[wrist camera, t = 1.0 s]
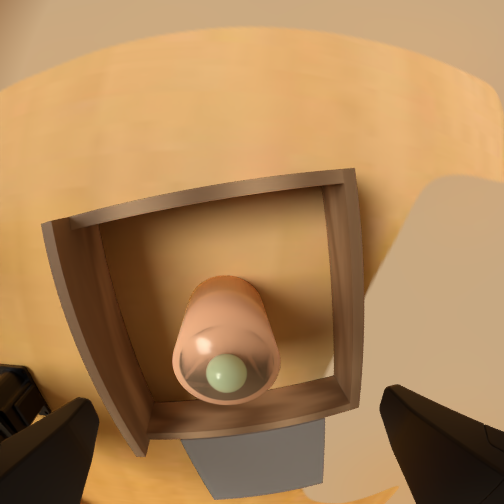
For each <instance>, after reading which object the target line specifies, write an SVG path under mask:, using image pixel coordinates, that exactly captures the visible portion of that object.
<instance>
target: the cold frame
mask: <svg viewBox="0 0 504 504" xmlns="http://www.w3.org/2000/svg"><path fill="white" fill-rule="evenodd" d="M321 185H322V192H323V200H324V208H325V217H326V227H327V237H328V247H329V259H330V273H331V288H332V307H333V334H334V376H330V377H326V378H322V379H318V380H314V381H310V382H305V383H301V384H296V385H292V386H287V387H282V388H277V389H272V390H267V391H266V392H265V393H263V394H262V395H260V396H259V397H257V398H255V399H253V400H251V401H248V402H245V403H241V404H235V405H219V404H213V403H209V402H206V401H203V400H190V401H176V402H157V403H155V402H154V400H153V398H152V395H151V393H150V391H149V388H148V386H147V384H146V381H145V379H144V377H143V374H142V372H141V369H140V367H139V364H138V361H137V359H136V356H135V353H134V351H133V348H132V345H131V342H130V340H129V337H128V334H127V331H126V328H125V325H124V322H123V319H122V316H121V312H120V309H119V306H118V303H117V299H116V296H115V292H114V289H113V285H112V281H111V278H110V274H109V270H108V266H107V262H106V257H105V253H104V249H103V244H102V239H101V235H100V230H99V223H103V222H108V221H112V220H117V219H121V218H126V217H130V216H135V215H140V214H144V213H149V212H154V211H159V210H164V209H169V208H175V207H180V206H185V205H191V204H196V203H202V202H208V201H214V200H220V199H226V198H232V197H238V196H245V195H251V194H258V193H265V192H272V191H280V190H287V189H295V188H303V187H312V186H321ZM41 227H42V232H43V237H44V242H45V247H46V251H47V256H48V260H49V264H50V268H51V272H52V275H53V279H54V282H55V286H56V289H57V293H58V296H59V299H60V302H61V305H62V308H63V311H64V314H65V317H66V320H67V323H68V325H69V328H70V331H71V333H72V336H73V338H74V341H75V343H76V346H77V348H78V351H79V353H80V355H81V358H82V360H83V362H84V365H85V367H86V369H87V371H88V373H89V375H90V377H91V380H92V382H93V384H94V386H95V388H96V390H97V392H98V394H99V395H100V397H101V399H102V401H103V403H104V405H105V407H106V408H107V410H108V412H109V414H110V416H111V417H112V419H113V421H114V422H115V424H116V426H117V427H118V429H119V431H120V432H121V434H122V436H123V437H124V439H125V440H126V442H127V443H128V445H129V446H130V448H131V449H132V451H133V452H134V454H135V455H136V457H146V453H147V449H148V445H149V441H150V439H193V438H207V437H219V436H228V435H237V434H244V433H251V432H258V431H264V430H270V429H275V428H281V427H286V426H290V425H295V424H300V423H304V422H308V421H312V420H316V419H320V418H324V417H328V416H331V415H335V414H338V413H342V412H345V411H349V410H352V409H355V408H358V407H359V401H360V390H361V377H362V363H363V342H364V270H363V248H362V233H361V220H360V209H359V199H358V190H357V181H356V174H355V168H349V169H337V170H325V171H315V172H305V173H296V174H288V175H279V176H271V177H264V178H257V179H250V180H243V181H236V182H230V183H223V184H217V185H211V186H205V187H200V188H194V189H189V190H183V191H178V192H173V193H168V194H163V195H158V196H153V197H149V198H144V199H139V200H135V201H131V202H126V203H122V204H118V205H113V206H109V207H105V208H101V209H97V210H93V211H90V212H86V213H82V214H78V215H75V216H71V217H67V218H62V219H57V220H53V221H49V222H46V223H43V224H41Z"/></svg>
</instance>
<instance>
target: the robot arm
mask: <svg viewBox="0 0 504 504" xmlns="http://www.w3.org/2000/svg"><path fill="white" fill-rule="evenodd" d="M38 414H39V415H45V416H46V417H44V418H42V419H41V420H39V421H37V422H36V423H34V424H32V423H33V421H34V420H35V418H36V417H37V415H38ZM380 414H381V417H382V419H383V422H384V426H385V429H386V432H387V435H388V438H389V441H390V444H391V447H392V450H393V452H394V455H395V457H396V459H397V461H398V463H399V466H400V468H401V470H402V472H403V475H404V476H405V479H406V481H407V484H408V486H409V488H410V490H411V493H412V495H413V498H414V500H415V502H416V504H504V432H503V431H501V430H498V429H495V428H493V427H490V426H488V425H484V424H483V423H481V422H478V421H476V420H474V419H472V418H469V417H467V416H465V415H462V414H460V413H458V412H456V411H453V410H451V409H449V408H447V407H445V406H442V405H440V404H438V403H436V402H434V401H432V400H430V399H428V398H425V397H423V396H421V395H419V394H417V393H415V392H413V391H411V390H409V389H407V388H405V387H403V386H401V385H398V384H397V385H392V386H388V387H386V388H385V390H384V393H383V396H382V400H381V403H380ZM31 424H32V425H31ZM98 426H99V418H98V415H97V413H96V411H95V409H94V407H93V404H92V402H91V401H90V400H89V399H86V398H80V397H78V398H76V399H74V400H73V401H71V402H69V403H68V404H66V405H64V406H63V407H61V408H59V409H58V410H56V411H54V412H53V413H51V411H50V409H49V408H48V406H47V404H46V403H45V401H44V399H43V398H42V396H41V394H40V392H39V391H38V389H37V387H36V385H35V383H34V381H33V380H32V378H31V376H30V374H29V372H28V370H27V369H26V367H24V366H15V365H4V364H0V504H80V502H81V498H82V494H83V490H84V487H85V483H86V479H87V476H88V472H89V469H90V465H91V462H92V457H93V452H94V447H95V441H96V436H97V431H98Z"/></svg>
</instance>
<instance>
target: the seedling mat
mask: <svg viewBox="0 0 504 504" xmlns="http://www.w3.org/2000/svg"><path fill="white" fill-rule="evenodd" d="M324 439H325V418H320V419H316V420H312V421H308V422H304V423H300V424H295V425H290V426H286V427H281V428H275V429H270V430H264V431H258V432H251V433H244V434H237V435H228V436H219V437H207V438H193V439H181V442H182V444H183V446H184V448H185V450H186V452H187V454H188V456H189V457H190V459H191V461H192V463H193V465H194V467H195V468H196V470H197V472H198V474H199V475H200V477H201V479H202V480H203V482H204V484H205V485H206V487H207V489H208V490H209V492H210V494H211V495H212V497H213V498H214V500H219V499H233V498H244V497H252V496H260V495H267V494H273V493H279V492H285V491H290V490H295V489H300V488H304V487H308V486H312V485H317V484H320V483H323V468H324V443H325V440H324Z"/></svg>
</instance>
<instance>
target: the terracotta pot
mask: <svg viewBox="0 0 504 504" xmlns="http://www.w3.org/2000/svg"><path fill="white" fill-rule="evenodd" d="M172 363H173V369H174V373H175V375H176V377H177V379H178V381H179V382H180V384H181V385H182V386H183V387H184V388H185V389H186V390H187V391H188V392H189V393H191V394H192V395H193V396H195V397H197V398H199V399H201V400H203V401H206V402H209V403H213V404H219V405H235V404H241V403H245V402H248V401H251V400H253V399H255V398H257V397H259V396H260V395H262V394H263V393H265V392H266V391H267V390H268V389H269V388H270V387H271V386H272V384H273V383H274V382H275V380H276V378H277V376H278V373H279V370H280V354H279V350H278V347H277V344H276V341H275V338H274V335H273V332H272V329H271V326H270V323H269V320H268V317H267V314H266V311H265V308H264V305H263V302H262V300H261V297H260V295H259V293H258V292H257V290H256V289H255V288H254V287H253V286H252V285H251V284H249V283H248V282H247V281H245V280H243V279H241V278H238V277H234V276H217V277H213V278H210V279H208V280H206V281H204V282H203V283H201V284H200V285H199V286H198V287H197V288H196V289H195V290H194V291H193V293H192V295H191V297H190V299H189V302H188V306H187V309H186V312H185V315H184V318H183V322H182V325H181V328H180V332H179V335H178V338H177V342H176V345H175V348H174V352H173V359H172Z"/></svg>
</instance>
